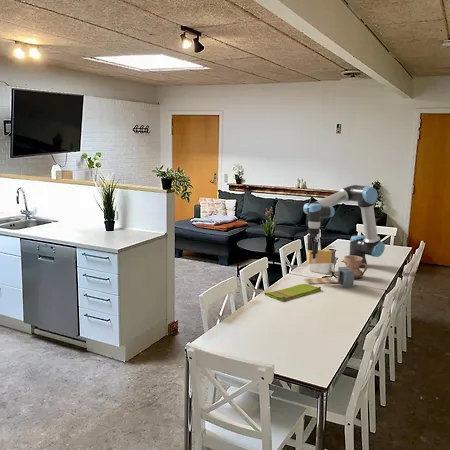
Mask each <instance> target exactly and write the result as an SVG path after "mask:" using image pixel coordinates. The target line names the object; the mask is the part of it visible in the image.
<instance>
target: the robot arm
mask: <svg viewBox="0 0 450 450" xmlns="http://www.w3.org/2000/svg"><path fill="white" fill-rule="evenodd" d="M378 197H379V196H378V191H377V189H376V188H375V187H373V186H369V185H358V184H353V185H349V186H346V187H343V188H341V189H339V190H338V191H337V192H335V193H333V194H330V195H329V196H326V197H324V198H322V199H319V200H317V201H314V202H312V203H310V202H309V203H307V202H306V203H304V205H303V207H302V210H303V212H304V214H307V215H308V222H307V224H308V225H307V226H308V228H307V233H308V235H307V250H312V253H311V254H312V255H311V263H315V260H316V254H317V253H318V250H319V242H320V239H319V238H318V235H320V230H321V219H325V218H332V217H333V216H335V210H336V209H335V208H334V207H333V206H336V205H338V204H341V203H346V202H357V206H358V207H359V208H360V211H361V212H360V213H361V219H362V224H363V232H364V235H362V234H361V235H352V236H351V237H350V240H349V241H350V243H349V254H348V255H353V256H359V257H362V258H363V260H362V263H365V264H366V265H367V266H368V261H367V259H366V256H371V257H373V258H374V257H375V258H379V257H381V256H382V255H383V253H384V252H385V248H386V247H385V242H383V241H381V237H380V235H378V230H377V223H376V217H375V210H374V206H375V205H376V202H377V201H378ZM363 268H364V269H365V266H364V265H361V266H360V267H359V269H363Z"/></svg>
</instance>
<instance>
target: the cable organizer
mask: <svg viewBox="0 0 450 450" xmlns="http://www.w3.org/2000/svg"><path fill="white" fill-rule="evenodd" d="M308 270H309V271H310V272H311V273H320V274H322V275H326V274H329V273H330V271H332V270H331V263H317V264H309V263H308Z"/></svg>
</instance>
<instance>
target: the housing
mask: <svg viewBox="0 0 450 450" xmlns="http://www.w3.org/2000/svg"><path fill="white" fill-rule="evenodd" d="M337 270H338V271H337V272H338V273H337V282H338V283H337V284H338V285H343V286H342V288H344V289H352V288H353V289H354V283H355V282H354V281H355V279H354V271H353V270H352V269H351V268H348V267H346V266H339V267H338V269H337Z"/></svg>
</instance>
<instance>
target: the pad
mask: <svg viewBox="0 0 450 450" xmlns="http://www.w3.org/2000/svg"><path fill="white" fill-rule="evenodd" d="M329 278H330V277H317V278H316V277H313V278H303V281H304V282H306V284H309V285H327V284H328V285H329V284H338V280H335V279H334V280H331V279H329Z"/></svg>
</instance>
